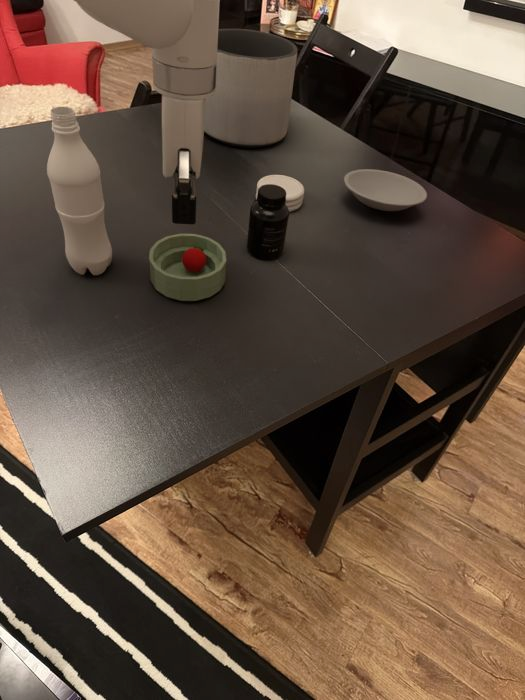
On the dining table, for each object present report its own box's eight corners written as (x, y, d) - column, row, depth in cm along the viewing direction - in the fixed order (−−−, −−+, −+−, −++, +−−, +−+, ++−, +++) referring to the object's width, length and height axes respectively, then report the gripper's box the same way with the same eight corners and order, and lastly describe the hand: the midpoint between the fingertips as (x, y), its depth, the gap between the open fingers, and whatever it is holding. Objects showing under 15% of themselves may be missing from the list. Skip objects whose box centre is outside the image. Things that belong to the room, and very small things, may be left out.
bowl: (149, 303, 76) (147, 278, 72) (153, 256, 84) (151, 232, 80) (226, 304, 77) (228, 279, 74) (222, 258, 86) (224, 234, 82)
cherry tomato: (180, 262, 77) (190, 239, 78) (176, 268, 81) (185, 247, 82) (203, 272, 78) (212, 249, 79) (198, 278, 82) (207, 257, 83)
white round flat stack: (255, 186, 104) (257, 171, 102) (300, 191, 105) (303, 176, 103) (255, 211, 98) (257, 195, 95) (303, 215, 98) (306, 200, 96)
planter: (212, 107, 132) (215, 22, 118) (292, 123, 131) (304, 38, 116) (187, 140, 117) (186, 46, 102) (278, 158, 115) (290, 65, 101)
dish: (418, 199, 108) (426, 179, 105) (419, 233, 99) (428, 211, 95) (342, 184, 110) (347, 163, 106) (335, 215, 100) (340, 193, 96)
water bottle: (123, 265, 81) (103, 111, 63) (91, 285, 77) (60, 127, 59) (92, 248, 83) (64, 96, 65) (59, 268, 79) (20, 109, 61)
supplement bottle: (240, 242, 90) (245, 182, 81) (273, 237, 92) (282, 178, 83) (254, 264, 85) (261, 203, 77) (289, 258, 88) (299, 198, 79)
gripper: (156, 51, 63) (160, 175, 75) (148, 99, 51) (155, 237, 63) (213, 57, 64) (208, 178, 76) (219, 105, 52) (212, 239, 64)
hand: (184, 204), depth 70 cm, fingers open, 9 cm apart
